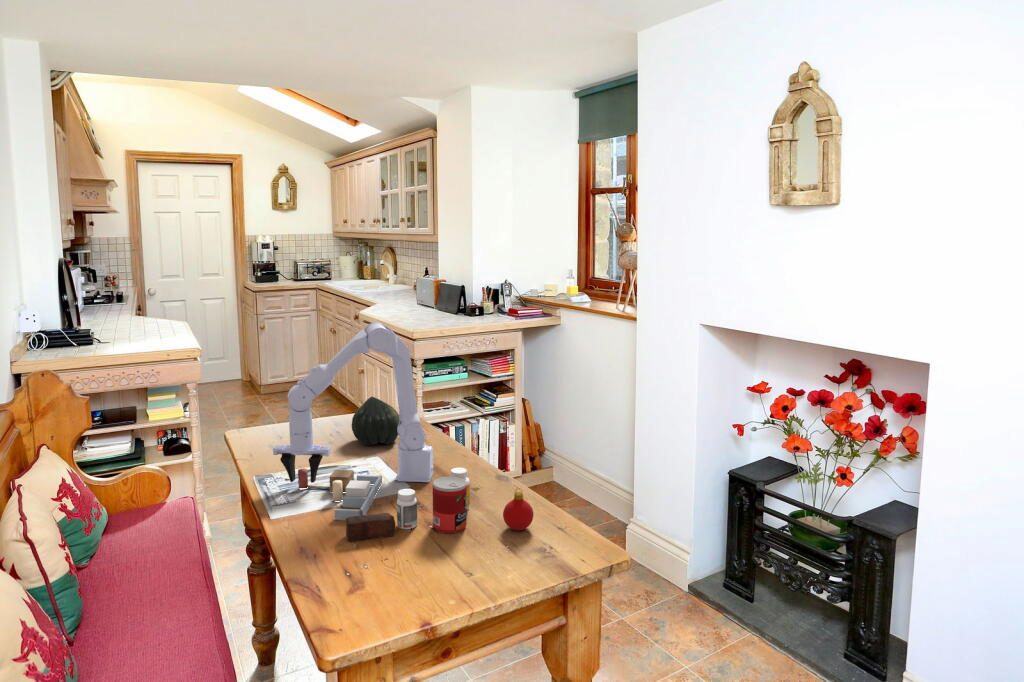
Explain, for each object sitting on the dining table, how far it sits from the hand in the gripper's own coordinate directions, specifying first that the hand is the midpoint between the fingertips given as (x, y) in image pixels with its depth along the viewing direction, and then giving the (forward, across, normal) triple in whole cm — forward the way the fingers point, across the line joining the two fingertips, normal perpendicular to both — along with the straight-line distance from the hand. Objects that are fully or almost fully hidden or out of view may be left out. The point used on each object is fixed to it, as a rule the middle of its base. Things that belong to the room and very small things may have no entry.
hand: (303, 480), depth 188 cm
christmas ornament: (+2, +57, -20) cm, 60 cm away
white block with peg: (+2, +14, -7) cm, 16 cm away
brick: (+2, +24, -26) cm, 35 cm away
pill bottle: (+2, +31, -20) cm, 37 cm away
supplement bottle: (+2, +42, -9) cm, 43 cm away
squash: (+2, +11, +38) cm, 40 cm away
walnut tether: (+2, +6, 0) cm, 6 cm away
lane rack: (+2, +17, -7) cm, 18 cm away
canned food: (+2, +41, -20) cm, 46 cm away
